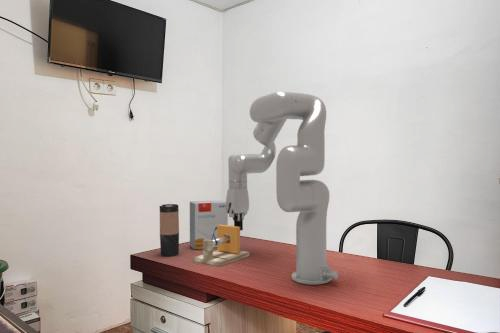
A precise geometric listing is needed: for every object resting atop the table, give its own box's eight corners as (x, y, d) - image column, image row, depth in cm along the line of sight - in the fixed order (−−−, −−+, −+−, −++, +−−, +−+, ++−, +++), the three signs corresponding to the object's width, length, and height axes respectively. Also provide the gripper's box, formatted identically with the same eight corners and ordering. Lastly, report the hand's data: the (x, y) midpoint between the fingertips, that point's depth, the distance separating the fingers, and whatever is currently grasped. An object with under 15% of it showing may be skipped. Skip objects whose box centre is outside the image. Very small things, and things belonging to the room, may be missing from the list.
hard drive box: (193, 250, 164) (193, 203, 163) (189, 246, 171) (188, 201, 170) (228, 246, 170) (227, 201, 169) (222, 243, 177) (222, 199, 176)
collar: (240, 252, 151) (240, 226, 151) (237, 253, 149) (236, 227, 149) (220, 249, 157) (220, 224, 157) (217, 250, 155) (217, 225, 155)
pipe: (238, 240, 156) (238, 233, 156) (209, 248, 142) (209, 241, 142) (233, 239, 157) (233, 233, 157) (204, 247, 144) (204, 240, 144)
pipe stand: (249, 255, 153) (249, 234, 153) (219, 266, 139) (219, 243, 139) (224, 251, 161) (224, 231, 161) (193, 261, 147) (193, 238, 146)
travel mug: (182, 254, 156) (181, 205, 156) (164, 257, 152) (163, 206, 152) (174, 251, 163) (174, 203, 162) (157, 253, 158) (156, 205, 158)
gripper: (241, 183, 166) (242, 226, 166) (218, 186, 154) (219, 232, 154) (256, 184, 161) (256, 228, 162) (233, 186, 149) (234, 234, 150)
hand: (238, 230), depth 158 cm, fingers closed
